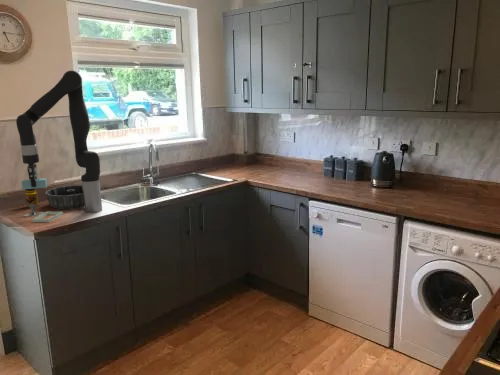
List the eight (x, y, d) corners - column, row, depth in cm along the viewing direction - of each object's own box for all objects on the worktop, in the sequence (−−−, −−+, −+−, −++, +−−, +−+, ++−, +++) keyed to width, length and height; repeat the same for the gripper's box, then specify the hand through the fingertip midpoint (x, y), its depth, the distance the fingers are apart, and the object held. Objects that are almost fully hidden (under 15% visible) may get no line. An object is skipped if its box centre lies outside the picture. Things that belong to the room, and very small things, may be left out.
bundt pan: (93, 210, 231) (91, 193, 229) (42, 214, 226) (39, 196, 223) (99, 199, 256) (97, 183, 254) (53, 202, 251) (51, 186, 249)
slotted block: (47, 185, 221) (46, 178, 221) (46, 187, 216) (45, 179, 215) (24, 187, 218) (23, 179, 217) (22, 189, 213) (21, 181, 212)
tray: (47, 216, 222) (47, 211, 221) (63, 216, 221) (62, 211, 220) (32, 223, 208) (32, 219, 208) (49, 224, 208) (48, 219, 207)
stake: (31, 213, 227) (29, 202, 225) (45, 213, 226) (43, 202, 225) (22, 218, 219) (20, 206, 218) (36, 218, 218) (35, 206, 217)
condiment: (27, 210, 233) (24, 189, 231) (25, 207, 240) (22, 187, 237) (41, 208, 238) (39, 188, 235) (38, 205, 244) (36, 185, 242)
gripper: (36, 154, 208) (41, 187, 212) (39, 151, 221) (44, 182, 225) (19, 156, 205) (24, 189, 209) (23, 152, 218) (28, 183, 222)
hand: (34, 185), depth 217 cm, fingers closed on slotted block, 5 cm apart
